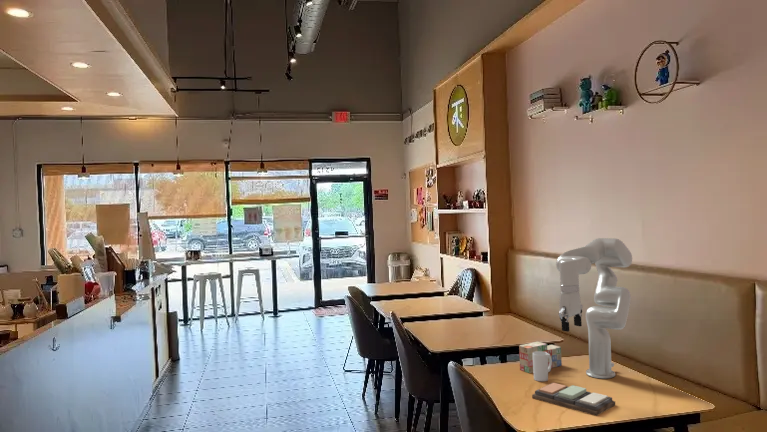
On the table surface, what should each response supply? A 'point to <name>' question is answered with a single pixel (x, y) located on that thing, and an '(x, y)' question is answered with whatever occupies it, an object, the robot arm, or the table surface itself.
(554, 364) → the stack of blocks
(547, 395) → the dark grey tile board
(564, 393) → the sage tile
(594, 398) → the cream tile
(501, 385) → the table surface
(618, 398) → the table surface
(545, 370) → the mug
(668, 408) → the table surface
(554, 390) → the terracotta tile
